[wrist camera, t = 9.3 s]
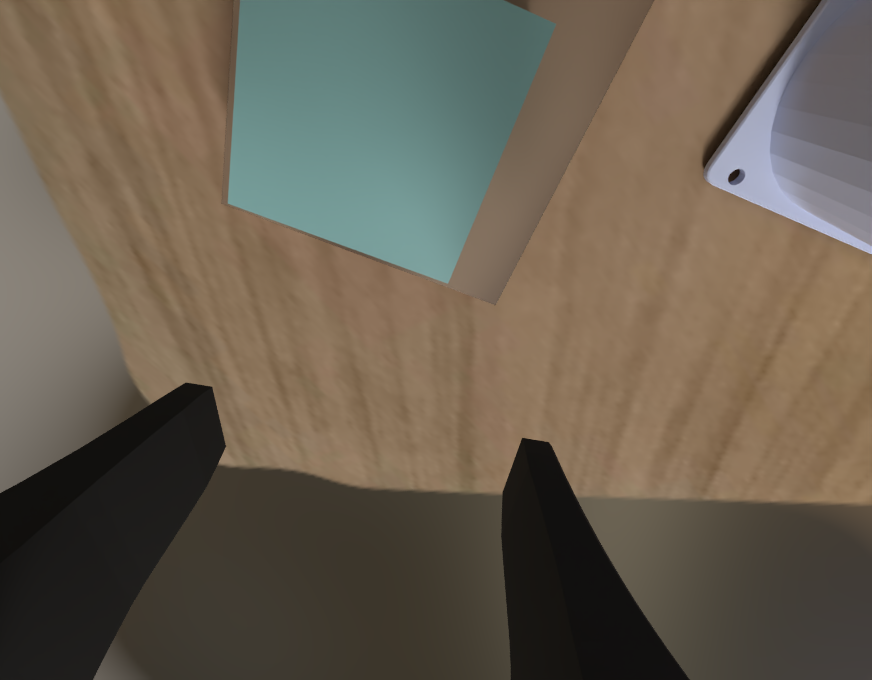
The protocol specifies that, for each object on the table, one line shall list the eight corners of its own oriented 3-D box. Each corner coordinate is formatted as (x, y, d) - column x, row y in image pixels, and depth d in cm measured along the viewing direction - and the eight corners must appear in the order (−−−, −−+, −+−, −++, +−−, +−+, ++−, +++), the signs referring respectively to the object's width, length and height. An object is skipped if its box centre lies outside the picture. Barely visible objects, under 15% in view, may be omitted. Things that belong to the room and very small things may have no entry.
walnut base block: (638, -24, 12) (675, -40, 10) (494, 269, 18) (495, 304, 16) (300, -189, 11) (248, -254, 9) (260, 180, 17) (221, 203, 14)
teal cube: (530, 30, 11) (556, 23, 7) (459, 212, 14) (447, 283, 10) (341, -54, 10) (247, -116, 6) (308, 153, 13) (227, 203, 9)
